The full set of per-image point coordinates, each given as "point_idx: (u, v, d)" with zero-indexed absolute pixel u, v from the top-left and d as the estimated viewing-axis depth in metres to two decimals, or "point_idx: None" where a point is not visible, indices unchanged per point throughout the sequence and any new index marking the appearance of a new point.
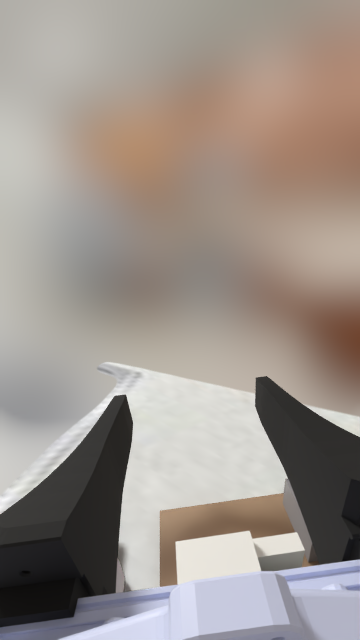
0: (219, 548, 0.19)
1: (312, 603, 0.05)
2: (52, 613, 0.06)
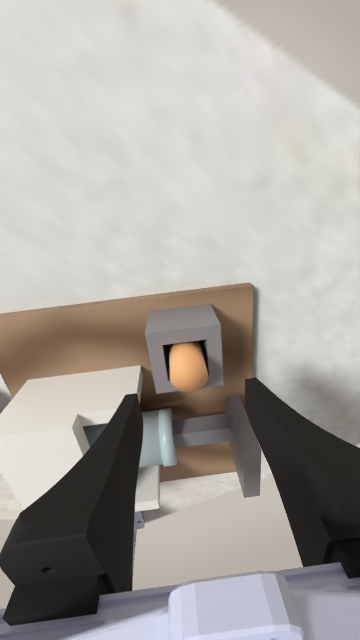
0: (35, 442, 0.16)
1: (312, 603, 0.05)
2: (75, 610, 0.06)
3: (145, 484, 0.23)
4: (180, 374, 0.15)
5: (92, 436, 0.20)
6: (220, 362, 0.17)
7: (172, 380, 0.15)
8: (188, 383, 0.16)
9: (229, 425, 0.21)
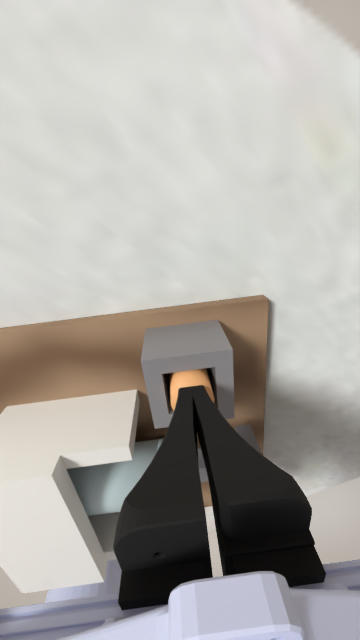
0: (8, 492, 0.13)
1: (312, 603, 0.05)
2: None
3: None
4: None
5: (80, 474, 0.17)
6: (231, 393, 0.14)
7: (173, 405, 0.14)
8: None
9: None
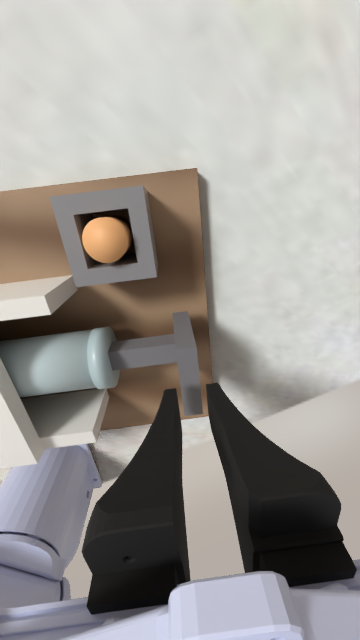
0: None
1: (312, 603, 0.05)
2: (158, 599, 0.06)
3: (82, 417, 0.20)
4: (94, 237, 0.13)
5: (10, 350, 0.17)
6: (149, 243, 0.14)
7: (85, 245, 0.14)
8: (105, 250, 0.14)
9: (174, 342, 0.18)
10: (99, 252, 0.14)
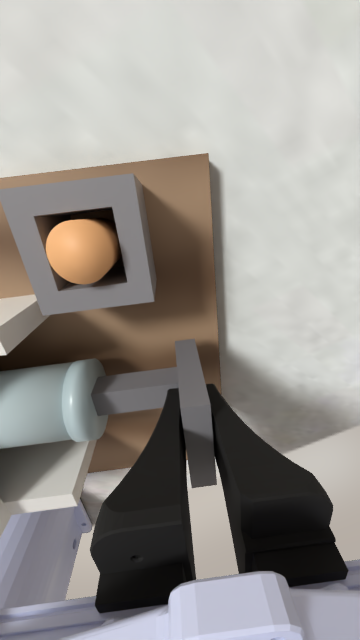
0: None
1: (312, 603, 0.05)
2: (166, 597, 0.06)
3: (61, 471, 0.16)
4: (63, 248, 0.09)
5: None
6: (143, 256, 0.10)
7: (52, 260, 0.09)
8: (80, 266, 0.10)
9: (177, 380, 0.14)
10: (72, 269, 0.10)
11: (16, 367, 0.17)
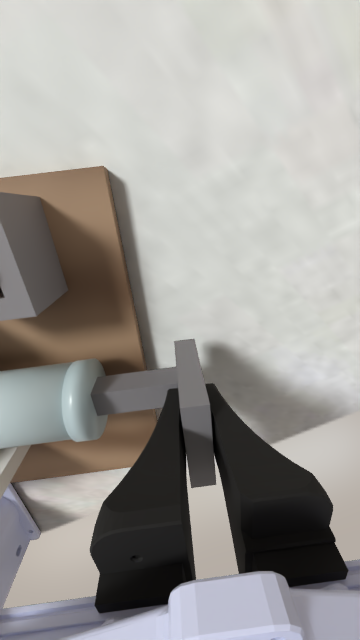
0: None
1: (312, 603, 0.05)
2: (166, 597, 0.06)
3: None
4: None
5: None
6: (16, 272, 0.10)
7: None
8: None
9: (177, 380, 0.14)
10: None
11: None
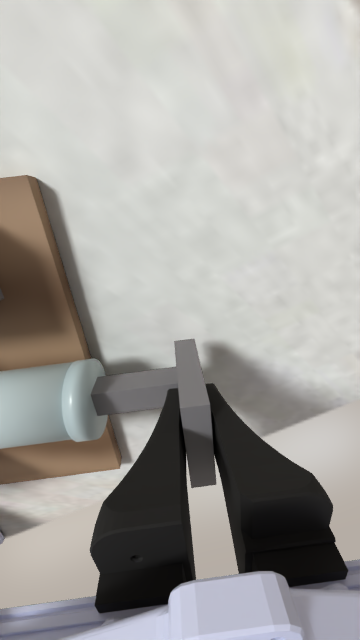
0: None
1: (312, 603, 0.05)
2: (165, 597, 0.06)
3: None
4: None
5: None
6: None
7: None
8: None
9: (177, 380, 0.14)
10: None
11: None
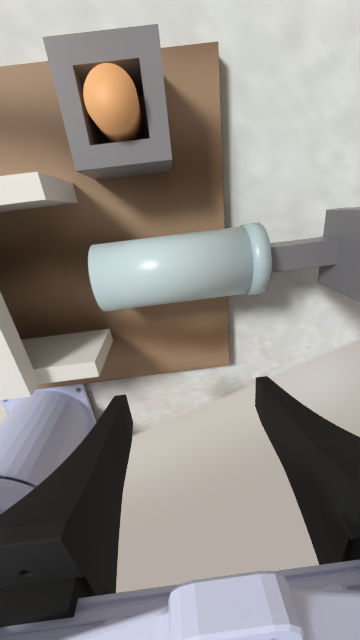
0: None
1: (312, 603, 0.05)
2: (52, 613, 0.06)
3: (83, 351, 0.17)
4: (97, 92, 0.11)
5: (156, 242, 0.15)
6: (164, 110, 0.12)
7: (87, 104, 0.11)
8: (112, 111, 0.11)
9: (336, 238, 0.16)
10: (104, 115, 0.11)
11: (41, 262, 0.18)
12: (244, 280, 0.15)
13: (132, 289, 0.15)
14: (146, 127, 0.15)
